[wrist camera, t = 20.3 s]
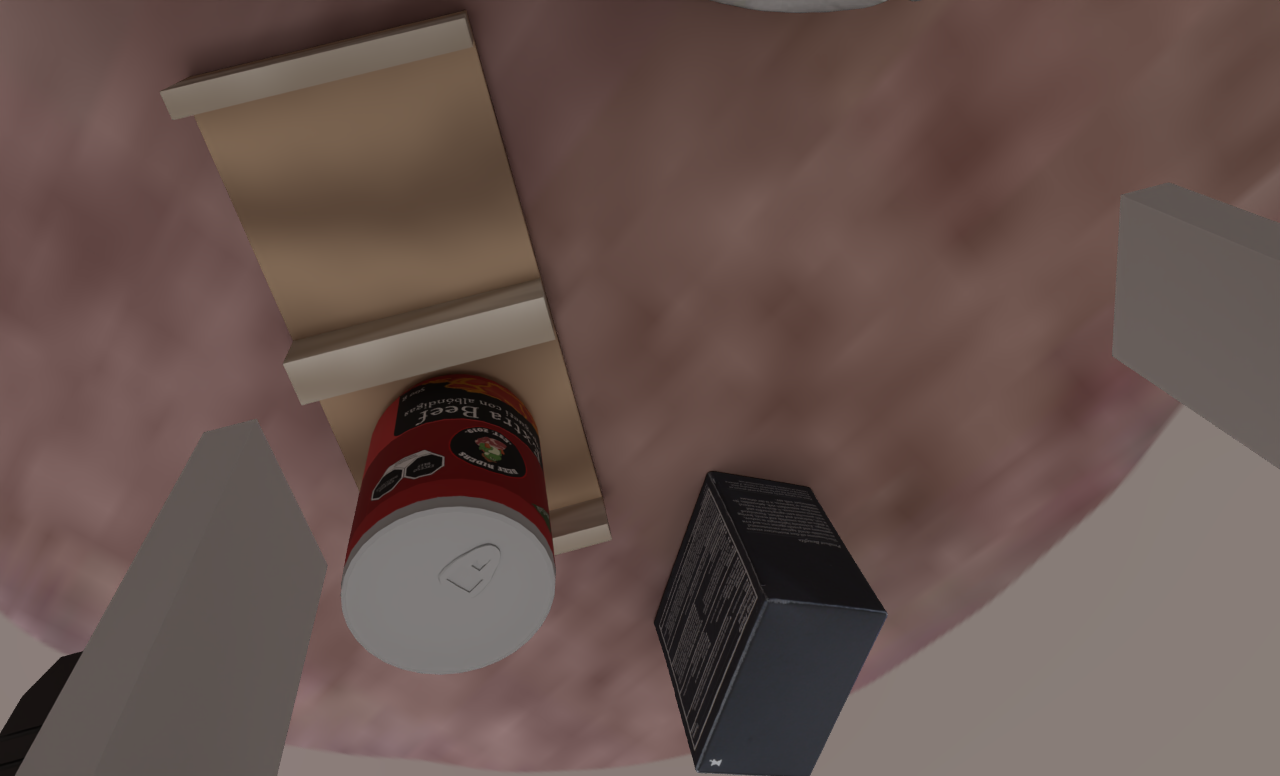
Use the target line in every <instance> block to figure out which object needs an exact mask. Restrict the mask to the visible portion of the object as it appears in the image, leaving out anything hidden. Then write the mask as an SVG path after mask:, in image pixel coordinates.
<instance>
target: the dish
mask: <svg viewBox="0 0 1280 776" xmlns="http://www.w3.org/2000/svg"><path fill="white" fill-rule="evenodd" d="M711 1H715V2H719V3H722V4H728V5H733V6H738V7H742V8H747V9H753V10H760V11H773V12H790V13H807V12H832V11H841V10H851V9H860V8H866V7H871V6H874V5H877V4H880V3H882V2H885V1H887V0H711ZM910 1H920V0H910Z"/></svg>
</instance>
